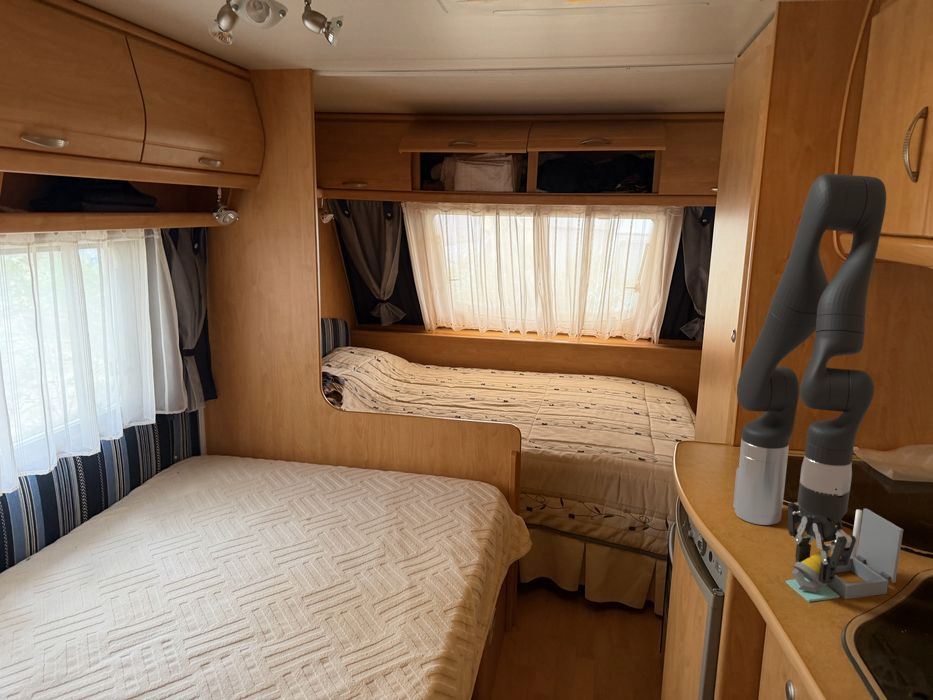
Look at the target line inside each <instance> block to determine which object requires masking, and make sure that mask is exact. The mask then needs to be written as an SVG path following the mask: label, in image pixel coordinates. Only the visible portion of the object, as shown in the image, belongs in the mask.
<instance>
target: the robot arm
mask: <svg viewBox="0 0 933 700" xmlns="http://www.w3.org/2000/svg"><path fill="white" fill-rule="evenodd" d="M886 206H887V190H886V186H885V183H884V182H883V181H882V179H880V178H879V177H875V176H868V175H854V174H840V173H824V174H821V175H819V176H818V177H817V178H816V179H815V180H814V181H813V182H812V185H811V187H810V189H809V191H808V194H807V196H806V198H805V202H804V205H803V208H802V213H801V215H800V216H801V217H800V219H799V223H798V226H797V230H796V233H795V238H794V241H793V244H792V247H791V250H790V254H789V255H788V256H789V257H788V259H787V262H786V265H785V267H784V270H783V272H782V274H781V277H780V280H779V282H778V285H777V287H776V289H775V292H774V294H773V297H772V300H771V302H770V306H769V308H768V312H767V315H766V318H765V320H764V322H763V326H762V328H761V331H760V333H759V336H758V338H757V340H756V342H755V345H754V346H753V348H752V350H751V352H750V354H749V356H748V358H747V360H746V362H745V364H744V366H743V368H742V370H741V372H740V376H739V378H738V380H737V385H736V399H737V402H738V403H739V406H740V407H741V408H743V410H746V411H750V412H758V413H759V412H764V413H763V414H761V416H759V417H757V418H755V419H754V420H751V421H749V422H746V423H745V424H744V425H743V427H742V429H741V438H740V439H741V440H740V451H739V452H740V453H739V460H738V461H739V462H738V463H739V464H738V467H737V468H736V471H735V479H734V480H735V481H734V483H735V484H734V491H733V503H732V508H733V509H734V513H735V515H736V516H737V518H740V519H741V520H743V521H745V522H747V523H750V524H754V525H760V526H773V525H776V524H779V523H780V522H781V521H782V512H783V504H784V495H785V486H786V485H785V484H786V476H787V475H786V474H787V465H788V457H789V447H790V439H791V436H792V434H793V432H794V428H795V422H796V415H797V410H798V403H799V397H800V399H801V402H802V403H803V405H805V407H807V408H809V409H811V410H818V411H819V410H821V411H832V412H840V413H841V412H842V413H841V414H840V415H839V416H838V417H836V418H833V419H826V420H819V421H813V422H812V423H810V424H809V426H808V428H807V431H806V432H807V433H806V438H805V439H806V440H805V450H804V457H803V460H802V462H801V468H800V475H799V476H800V478H799V484H798V485H799V486H798V495H797V502H790V503H789V502H788V504H787V519H788V523H787V524H788V527H787V528H788V534H789V536H791V537H794V542H795V544H796V548H795V564H796V563H797V562H802V561H804V560H805V559H807V558H810V557H811V550H812V545H811V544H810V543H812V542H813V539H815V541H816V548H817V550H819V551H821V557H822V562H821V567H820V575H819V581H820V582H822V583H823V584H825V583H831V582H832V581H834V579H835V575H836V573H835V571H836V567H837V566H846V565H848V562H849V559H850V556H851V553H852V551H853V548H854V545H855V542H856V538H855V537H854V536H853V534H851V535H849V534H847V533H846V532H845V531H844V530H843V524H842V519H843V518H844V516H845V515H846V514H847V513H848V508H849V507H848V506H849V501H850V500H849V499H850V492H851V484H852V477H853V470H852V469H853V467H852V462H853V455H854V448H855V441H856V437H857V433H858V432H859V429H860V426H861V423H862V421H863V420H864V418H865V416H866V413H867V412H868V410H869V408H870V406H871V404H872V401H873V399H874V397H875V396H874V395H875V390H876V389H875V388H876V387H875V382H874V380H873V378H872V377H871V375H870V374H869V373H868V372H866V371H865V370H861V369H860V370H859V369H850V368H848V369H847V368H837V367H836V368H834V367H827V364H828V362H829V360H830V359H832V358H835V357H841V356H852V355H856V354H858V353H860V352H861V351H862V350H863V348H864V343H865V326H866V313H867V312H866V308H867V299H868V298H867V297H868V292H869V286H870V281H871V277H872V272H873V269H874V268H873V267H874V264H875V261H876V260H875V259H876V255H877V251H878V247H879V241H880V237H881V233H882V228H883V224H884V218H885V213H886ZM826 231H836V232H848V233H852V243H851V247H850V251H849V253H848V255H847V257H846V259H845V261H844V262H843V264H842V266H841V267H840V268H839V270H838V271H837V272H836V274H834V276H833V277H832V279H831V280H830V281H828V278H827V275H826V273H825V270H824V267H823V264H822V260H821V255H820V247H821V241H822V238H823V236H824V234H825V232H826ZM814 333H815V335H814V336H815V337H814V344H813V349H812V353H811V356H810V359H809V362H808V363H807V366H806V370H805V371H804V373H803V376H802V379H801V382H800V383H799V379H798V376H797V374H796V372H795V371H794V370H793V369H792V368H790V367H788V366H778V365H779V364H780V363H781V362H782V360H783V359H785V358H786V357H787V356H788V355H789V354H791V352H793V351H794V350H796V349H797V348H798V347H799V346H801V345H803V343H805V342H806V341H807V340H808V339H809V338H810V337H812V335H813V334H814ZM796 524H797V528H796ZM826 542H827V543H826ZM829 542H830V543H829ZM825 543H826V544H825ZM828 550H831V553H830V556H828ZM825 585H826V584H825Z"/></svg>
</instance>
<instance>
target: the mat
mask: <svg viewBox="0 0 933 700" xmlns="http://www.w3.org/2000/svg"><path fill="white" fill-rule="evenodd" d="M804 579H805V580H806V581H809V580H807V579H806V578H805V577H804ZM785 584H787V585H788V586H789V587H790V588H792V589H793V590H794V591H795V592H796V593H797V594H798V595H800V596H801V597H802V598H803V599H804V600H805V601H807V602H808V603H810V602H817V601H825V600H832V599H839V598H840V595H839V594H838V593H837V592H835V591H834V590H833V589H832V588H830V587H829V586H828V585H826V584H825V585H824V586H823V587H820V588H819V589H818V590H817V592H811V591H805V590H800V589H799V588H800V585H799V584H798V582H797V581H796V579H795V578H794V579H787V580H785Z"/></svg>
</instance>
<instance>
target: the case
mask: <svg viewBox="0 0 933 700" xmlns="http://www.w3.org/2000/svg"><path fill="white" fill-rule="evenodd" d="M903 534H904V529H903V528H901V527H899V526H897V525H896V524H894V523H893V522H891V521H889V520H888V519H885V518H883V517H882V516H881V515H879V514H878V513H877V514H876V513H875V512H873V511H872V510H870V509H868V508H866V507H865V508H863V510H862V509H856V510H855V516H854V524H853V530H852V535H853V536H854V537H855V538H856V542H855V545H854V548H853V551H852V553H851V556H850V559H849V562H848V565H846V566H837V567H836V571H835V579H834V581H832V582H831V583H826V584H825V585H827V586H828V587H829V588H830V589H832V590H833V591H834V592H836V593H837V594H838V595H839V596H841V597H842V598H843V599H845V600H848V599H849V600H850V599H857V598H864V597H871V596H878V595H885V594H886V595H887V592H888V585H889V582H890V583H893V584H895V583H896V582H897V581H896V580H897V576H898V575H897V573H898V567H899V563H900V562H899V560H900V555H901V550H902V540H903V537H904V536H903ZM849 571H850V572H852V573H853V574H855V575H856V576H858V577H859V578H860V579H862V580H863V581H858V582H851V583H847V582H846V581H845V580H843V578H841V577H839V576H838V575H837V574H836V573H842V572H849Z"/></svg>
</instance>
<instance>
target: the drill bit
mask: <svg viewBox="0 0 933 700" xmlns="http://www.w3.org/2000/svg"><path fill="white" fill-rule="evenodd" d="M828 556H831V550H828ZM821 562H822V557H821V551H820V550H819V551H818V552H816V553H814V554H812V555H810V558H807V559H805V560H804V561H802V562H797V563H796V562H795V564H794V565H793V568H794V569H793V570H792V571H791V574H792V577H793V578H794V579H796V581H797V582H798V584H799V585H800V588H799V589H800V590H805V591H811V592H817V590H818V589H819V588H820V587H823V586H824V585H826V583H825V584H823V583H822V582H820V581H819V575H820V567H821ZM804 578H806V579H807V580H809V581H806V580H805V579H804Z"/></svg>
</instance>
